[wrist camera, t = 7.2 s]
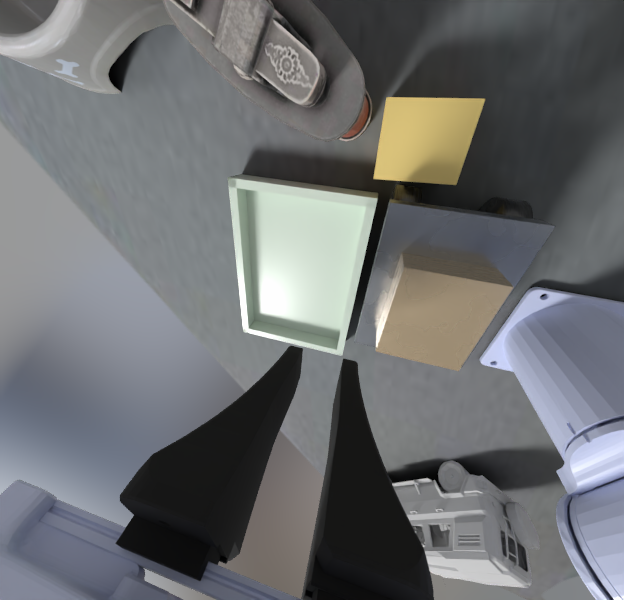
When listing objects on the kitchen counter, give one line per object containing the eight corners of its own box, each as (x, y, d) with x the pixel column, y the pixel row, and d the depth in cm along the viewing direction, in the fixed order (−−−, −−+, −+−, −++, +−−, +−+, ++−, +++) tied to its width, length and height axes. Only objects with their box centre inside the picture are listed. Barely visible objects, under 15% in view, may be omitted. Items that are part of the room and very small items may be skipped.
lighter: (385, 98, 14) (388, 40, 6) (349, 155, 16) (314, 170, 8) (269, -5, 13) (75, -252, 5) (245, 69, 15) (78, -16, 7)
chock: (467, 106, 13) (485, 98, 11) (444, 178, 15) (456, 185, 13) (386, 104, 14) (386, 97, 12) (374, 173, 16) (373, 178, 14)
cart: (516, 195, 15) (593, 228, 9) (444, 329, 21) (466, 396, 16) (390, 179, 16) (394, 200, 11) (358, 311, 22) (350, 367, 17)
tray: (378, 192, 17) (377, 198, 15) (344, 341, 25) (342, 355, 23) (241, 174, 18) (227, 177, 17) (252, 319, 26) (243, 331, 25)
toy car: (356, 473, 40) (349, 558, 32) (480, 447, 29) (518, 568, 21) (397, 502, 42) (401, 589, 34) (527, 488, 31) (579, 612, 23)
